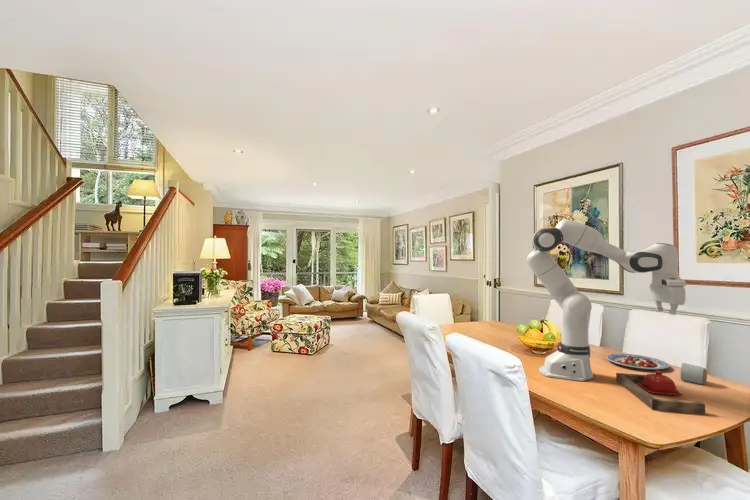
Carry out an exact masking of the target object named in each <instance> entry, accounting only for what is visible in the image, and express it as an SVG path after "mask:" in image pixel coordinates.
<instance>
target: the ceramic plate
mask: <svg viewBox="0 0 750 500" xmlns="http://www.w3.org/2000/svg"><path fill="white" fill-rule="evenodd" d="M605 359H606V360H608V361H610V362H612V363H615V364H617V365H621V366H622V367H626V368H629V369H630V368H631V369H635V370H636V369H637V370H642V369H643V370H645V371H653V370H665V369H667V368H669V367H670V364H669V363H668V362H666V361H664V360H661V359H658V358H654V357H650V356H645V355H640V354H632V353H630V354H629V353H609V354H607V355H606V356H605Z"/></svg>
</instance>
